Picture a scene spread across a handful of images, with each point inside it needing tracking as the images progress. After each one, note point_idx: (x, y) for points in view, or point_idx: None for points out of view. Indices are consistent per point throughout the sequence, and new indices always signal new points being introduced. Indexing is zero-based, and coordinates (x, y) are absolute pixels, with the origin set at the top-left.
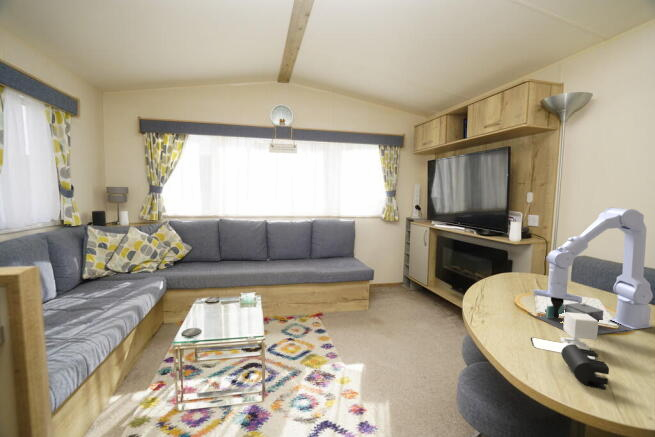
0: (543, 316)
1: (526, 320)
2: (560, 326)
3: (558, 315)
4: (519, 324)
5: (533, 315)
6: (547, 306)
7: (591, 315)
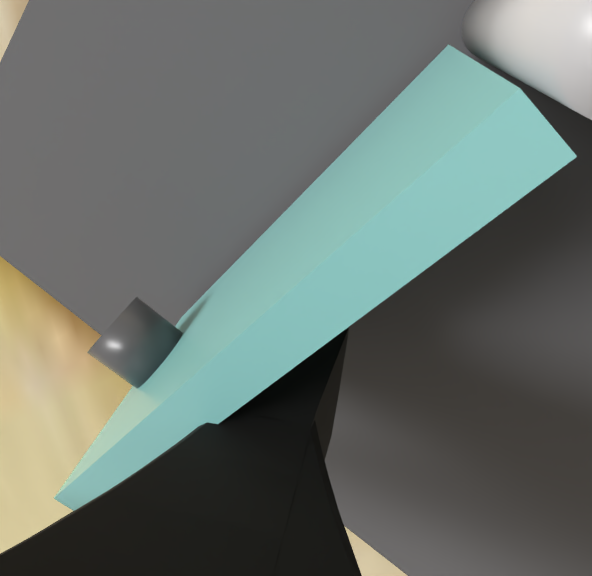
0: (147, 249)
1: (28, 423)
2: (348, 485)
3: (328, 445)
4: (21, 513)
5: (28, 276)
6: (68, 505)
7: None
